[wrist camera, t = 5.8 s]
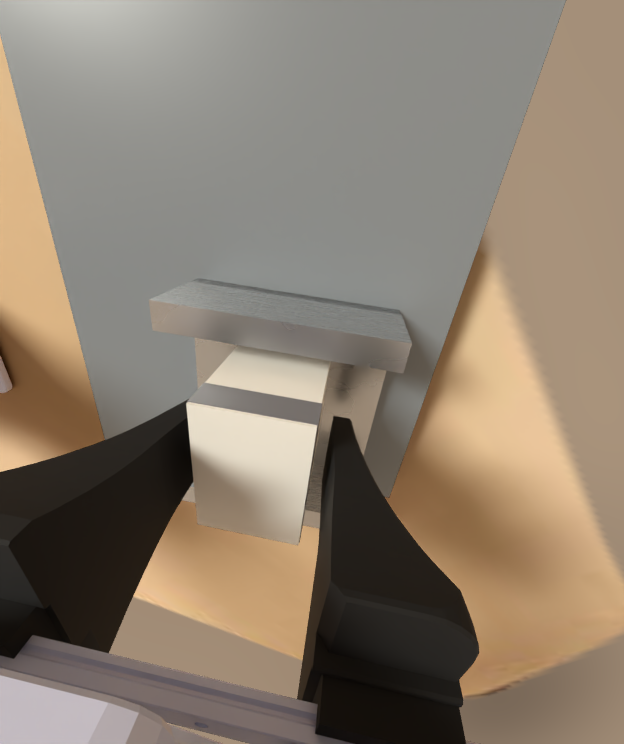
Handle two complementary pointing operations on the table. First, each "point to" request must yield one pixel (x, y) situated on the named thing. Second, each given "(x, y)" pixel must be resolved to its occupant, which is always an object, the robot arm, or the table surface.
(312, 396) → the block
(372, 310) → the end holder
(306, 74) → the board
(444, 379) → the table surface
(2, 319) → the table surface
